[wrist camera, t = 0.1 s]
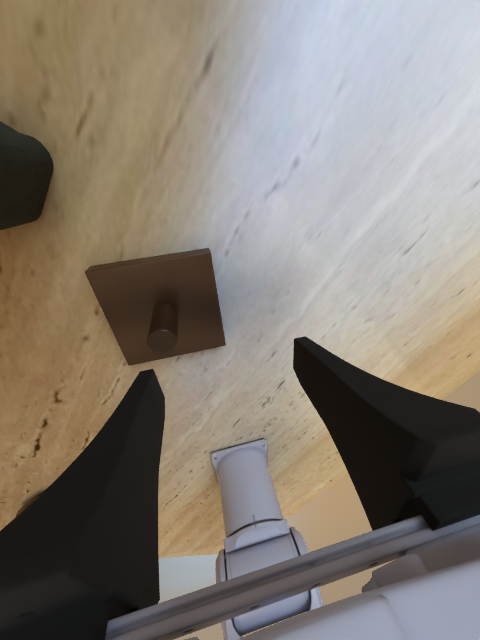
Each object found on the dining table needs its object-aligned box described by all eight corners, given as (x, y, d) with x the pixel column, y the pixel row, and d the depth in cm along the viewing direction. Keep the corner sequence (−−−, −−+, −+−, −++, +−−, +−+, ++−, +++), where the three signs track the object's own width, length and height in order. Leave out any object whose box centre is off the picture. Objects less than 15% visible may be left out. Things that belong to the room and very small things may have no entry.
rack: (223, 338, 23) (233, 375, 19) (131, 357, 22) (118, 401, 18) (208, 247, 19) (217, 268, 14) (89, 266, 17) (58, 294, 13)
